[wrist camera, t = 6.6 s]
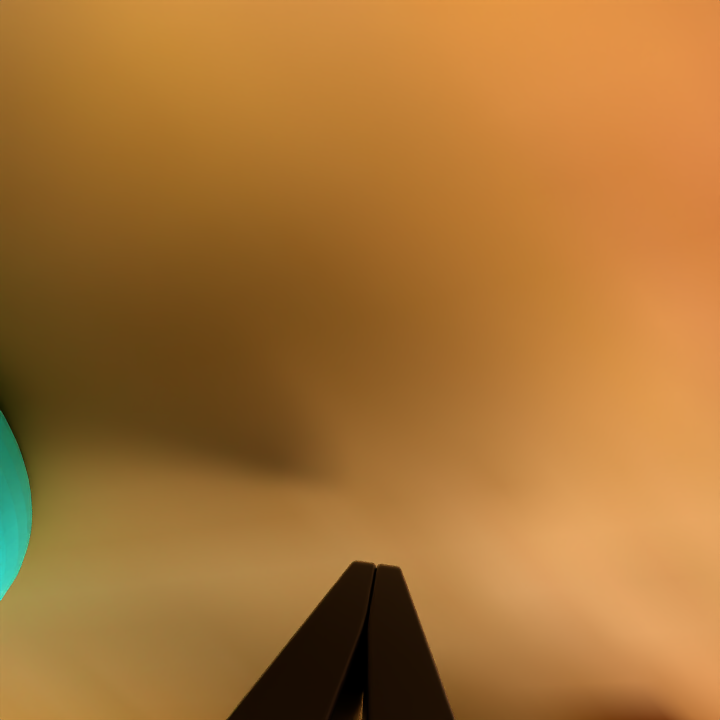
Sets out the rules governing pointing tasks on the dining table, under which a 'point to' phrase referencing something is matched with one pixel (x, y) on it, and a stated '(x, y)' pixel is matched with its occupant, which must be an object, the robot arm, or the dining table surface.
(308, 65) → the dining table surface
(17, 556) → the donuts
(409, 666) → the robot arm
